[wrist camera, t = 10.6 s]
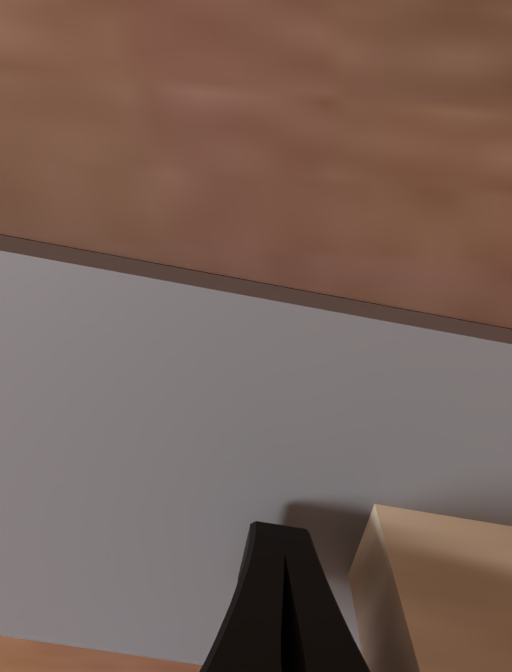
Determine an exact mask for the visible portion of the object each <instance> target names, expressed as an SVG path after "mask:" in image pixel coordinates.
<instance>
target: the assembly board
mask: <svg viewBox="0 0 512 672" xmlns="http://www.w3.org/2000/svg"><path fill="white" fill-rule="evenodd" d="M374 504H379V505H385V506H391V507H397V508H403V509H409V510H415V511H421V512H427V513H433V514H440V515H446V516H452V517H458V518H464V519H470V520H476V521H482V522H488V523H495V524H501V525H507V526H512V329H507V328H501V327H496V326H491V325H485V324H480V323H474V322H469V321H464V320H458V319H453V318H447V317H442V316H437V315H431V314H426V313H420V312H415V311H410V310H404V309H399V308H393V307H388V306H382V305H377V304H372V303H366V302H361V301H355V300H350V299H345V298H339V297H334V296H328V295H323V294H318V293H312V292H307V291H301V290H296V289H291V288H285V287H280V286H274V285H269V284H264V283H258V282H253V281H247V280H242V279H236V278H231V277H226V276H220V275H215V274H209V273H204V272H199V271H193V270H188V269H182V268H177V267H172V266H166V265H161V264H155V263H150V262H145V261H139V260H134V259H128V258H123V257H118V256H112V255H107V254H101V253H96V252H90V251H85V250H80V249H74V248H69V247H63V246H58V245H53V244H47V243H42V242H36V241H31V240H26V239H20V238H15V237H9V236H4V235H0V636H6V637H13V638H20V639H26V640H33V641H40V642H47V643H54V644H61V645H68V646H75V647H82V648H88V649H95V650H102V651H109V652H116V653H123V654H130V655H137V656H143V657H150V658H157V659H164V660H171V661H178V662H185V663H192V664H199V665H203V664H204V662H205V660H206V658H207V656H208V654H209V651H210V649H211V647H212V645H213V643H214V641H215V638H216V636H217V634H218V631H219V629H220V627H221V624H222V622H223V620H224V617H225V615H226V613H227V610H228V608H229V605H230V603H231V600H232V598H233V595H234V592H235V589H236V586H237V581H238V575H239V571H240V566H241V562H242V558H243V553H244V549H245V545H246V540H247V536H248V532H249V528H250V524H251V523H253V522H255V521H259V522H265V523H272V524H278V525H284V526H291V527H297V528H304V529H307V530H308V532H309V533H310V535H311V538H312V541H313V544H314V547H315V550H316V553H317V555H318V558H319V561H320V563H321V566H322V569H323V571H324V574H325V576H326V579H327V581H328V583H329V586H330V588H331V591H332V593H333V595H334V598H335V600H336V602H337V604H338V606H339V608H340V611H341V613H342V615H343V617H344V619H345V622H346V624H347V626H348V628H349V630H350V632H351V634H352V636H353V638H354V640H355V642H356V644H357V646H358V648H359V650H360V652H361V654H362V651H361V645H360V639H359V633H358V628H357V622H356V616H355V610H354V604H353V598H352V592H351V587H350V581H349V575H348V574H349V571H350V568H351V565H352V563H353V560H354V557H355V555H356V552H357V549H358V547H359V544H360V541H361V539H362V536H363V533H364V531H365V528H366V525H367V523H368V520H369V517H370V514H371V512H372V509H373V506H374Z"/></svg>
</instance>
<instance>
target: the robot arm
mask: <svg viewBox="0 0 512 672" xmlns="http://www.w3.org/2000/svg"><path fill="white" fill-rule="evenodd" d="M200 672H371V671H370V669H369V667H368V665H367V663H366V661H365V660H364V658H363V656H362V654H361V652H360V650H359V648H358V646H357V644H356V642H355V640H354V638H353V636H352V634H351V632H350V630H349V628H348V626H347V624H346V622H345V619H344V617H343V615H342V613H341V611H340V608H339V606H338V604H337V602H336V600H335V598H334V595H333V593H332V591H331V588H330V586H329V583H328V581H327V579H326V576H325V574H324V571H323V569H322V566H321V563H320V561H319V558H318V555H317V553H316V550H315V547H314V544H313V541H312V538H311V535H310V533H309V532H308V530H307V529H304V528H297V527H291V526H284V525H278V524H272V523H265V522H259V521H255V522H253V523H251V524H250V528H249V532H248V536H247V540H246V545H245V549H244V553H243V558H242V562H241V566H240V571H239V575H238V581H237V586H236V589H235V592H234V595H233V598H232V600H231V603H230V605H229V608H228V610H227V613H226V615H225V617H224V620H223V622H222V624H221V627H220V629H219V631H218V634H217V636H216V638H215V641H214V643H213V645H212V647H211V649H210V651H209V654H208V656H207V658H206V660H205V662H204V664H203V666H202V668H201V670H200Z"/></svg>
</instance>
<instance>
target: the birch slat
mask: <svg viewBox="0 0 512 672" xmlns="http://www.w3.org/2000/svg"><path fill="white" fill-rule="evenodd" d="M348 575H349V581H350V587H351V592H352V598H353V604H354V610H355V616H356V622H357V628H358V633H359V639H360V645H361V651H362V656H363V658H364V660H365V661H366V663H367V665H368V667H369V669H370V671H371V672H512V526H507V525H501V524H495V523H488V522H482V521H476V520H470V519H464V518H458V517H452V516H446V515H440V514H433V513H427V512H421V511H415V510H409V509H403V508H397V507H391V506H385V505H379V504H374V506H373V509H372V512H371V514H370V517H369V520H368V523H367V525H366V528H365V531H364V533H363V536H362V539H361V541H360V544H359V547H358V549H357V552H356V555H355V557H354V560H353V563H352V565H351V568H350V571H349V574H348Z"/></svg>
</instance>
